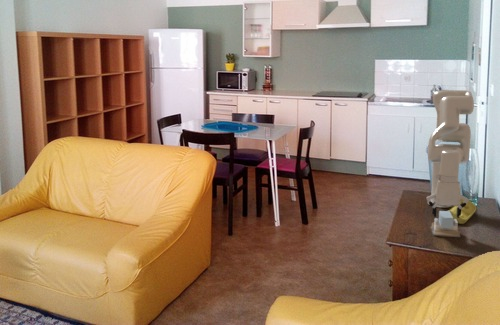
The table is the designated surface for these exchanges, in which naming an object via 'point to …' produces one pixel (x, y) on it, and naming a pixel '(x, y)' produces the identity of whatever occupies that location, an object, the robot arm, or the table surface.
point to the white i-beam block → (438, 227)
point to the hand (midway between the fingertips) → (446, 216)
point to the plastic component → (463, 212)
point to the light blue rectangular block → (446, 219)
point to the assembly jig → (445, 232)
